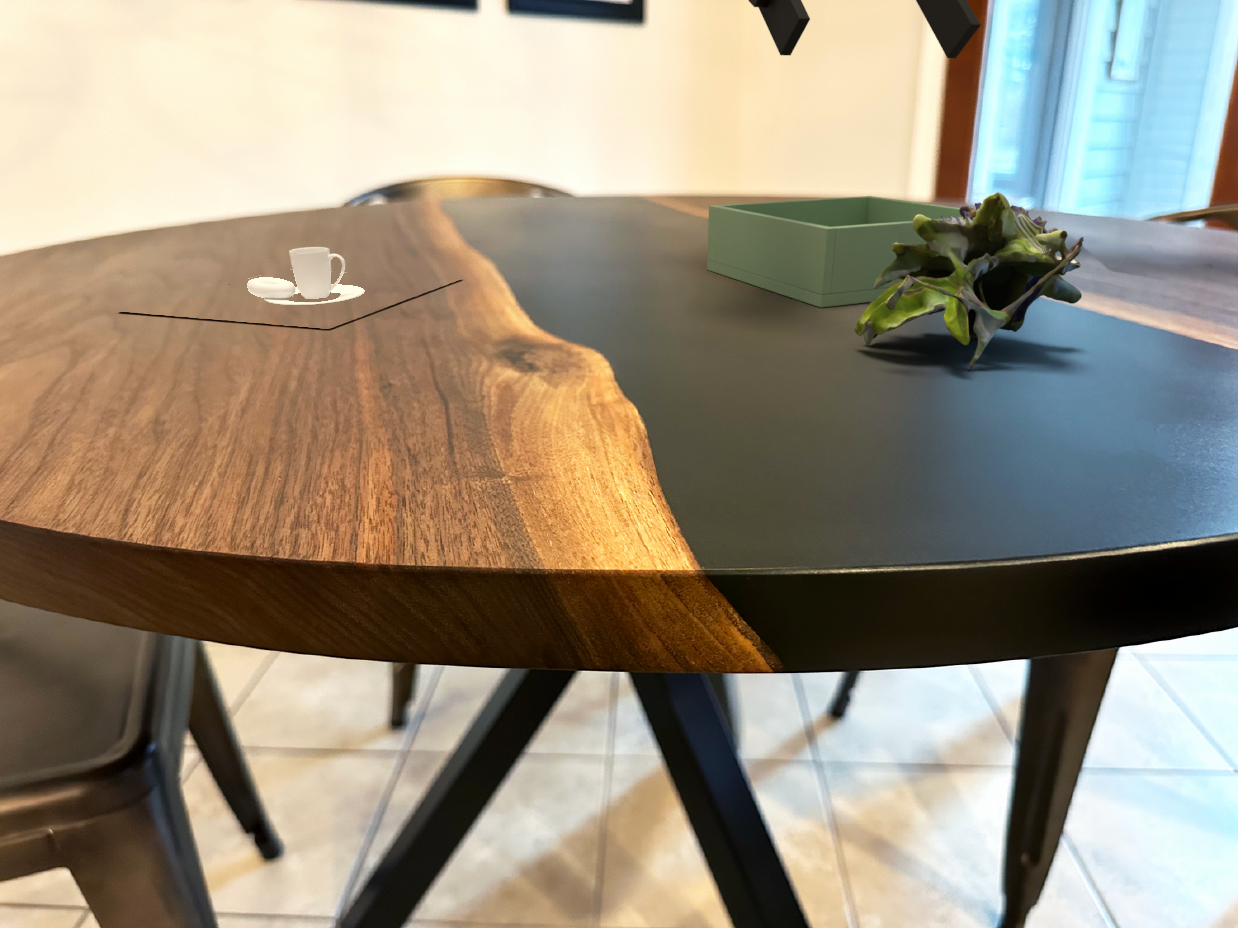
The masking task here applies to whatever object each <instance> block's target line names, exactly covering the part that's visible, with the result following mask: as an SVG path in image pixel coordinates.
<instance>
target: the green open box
mask: <svg viewBox="0 0 1238 928" xmlns="http://www.w3.org/2000/svg"><path fill="white" fill-rule="evenodd" d="M960 208H961V207H957V206H949V205H943V204H942V205H941V204H933V203H926V202H920V201H919V202H918V201H910V200H903V199H897V198H896V199H895V198H889V197H880V196H873V195H865V196H862V195H861V196H847V197H830V198H813V199H811V198H810V199H797V200H796V199H795V200H783V201H782V200H777V201H761V202H760V201H759V202H745V203H729V204H728V203H727V204H711V205H708V224H707V228H708V229H707V260H706V261H707V262H706V264H707V265H706V270H707V271H710V272H713V273H716V274H717V275H718V274H719V275H721V276H725V277H728V278H731V279H733V280H737V281H739V282H743V283H745V284H749V285H751V286H755V287H757V288H761V289H763V290H767V291H770V292H773V293H776V294H779V295H780V296H781V295H782V296H783V297H787V298H791V299H793V300H797V301H799V302H802V303H805V304H808V305H811V306H814V307H817V308H821V309H823V308H831V307H839V306H847V305H856V304H858V305H859V304H865V303H866V304H867V303H871V302H872V301H876V300H877V299H878V297H879V296H880V295H881V294H883V293H884V292H885V291H886V290H887V289H888V288H890V287H891V286H892V285H893V284H896V283H898V282H901V281H904V280H902V279H900V278H898V279H896V280H894V281H891V282H889V283H887V284H885V285H883V286H880V287H878V289H874V285H875V282H876V279H877V277H878V276H879V275H880V274H881V272H882V271H883V270H884V269H885V268H886V267H887V266H888V265H890V264H891V263H892V262H893V261H894V260H895V259H896V258H897V255H896V254H895V253H894V252H893V251H892V244H894V243H899V244H908V245H912V244H914V245H916V244H918V245H919V244H926V243H927V242H926V241H925V240H923V239H922V238H921V237H920V236H919V235H918V234H917V233H916V232H915V230H914V229H913V219H914V218H915V216H916V215H924V216H925V217H927V218H931V219H934V220H941V219H942V218H941V215H943V216H944V218H945V219H947V220H948V221H950V218H949V215H950V216H952V217H953V218H954V219H956V218H957V217H959V218H961V219H963V216H961V215H960V212H959V209H960Z"/></svg>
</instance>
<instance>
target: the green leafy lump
mask: <svg viewBox="0 0 1238 928" xmlns="http://www.w3.org/2000/svg"><path fill="white" fill-rule="evenodd" d="M959 208H960V209H959V212H960V215H961V216H963V219H961V218H959V217H957V218H956V219H954V218H953V217H952V216H950V215H949V218H950V221H948V220H947V219H945V218H944V216H943V215H941V218H942V219H941V220H934V219H931V218H927V217H925V216H924V215H916V216H915V218H914V219H913V229H914V230H915V232H916V233H917V234H918V235H919V236H920V237H921V238H922V239H923V240H925V241H926V242H927V243H926V244H919V245H918V244H916V245H914V244H912V245H908V244H899V243H894V244H892V251H893V252H894V253H895V254H896V255H897V258H896V259H895V260H894V261H893V262H892V263H891V264H890V265H888V266H887V267H886V268H885V269H884V270H883V271H882V272H881V274H880V275H879V276H878V277H877V279H876V282H875V285H874V289H878V287H880V286H883V285H885V284H887V283H889V282H891V281H894V280H896V279H898V278H900V279H902V280H904V281H901V282H898V283H896V284H893V285H892V286H891V287H890V288H888V289H887V290H886V291H885V292H884V293H883V294H881V295H880V296H879V297H878V299H877V300H876V301H872V302H870V304H869V305H868V306H867V308H866V309H865V310H864V312H863V313H862V314H861V316H860V317H859V318H858V319H857V322H856V323H855V326H854V332H855V334H856V335H857V336H858V337H861V336H863V340H864V343H865V344H866V345H867V346H869V345H871V343H872V341H873V340H875V339H876V338H877V337H878V336H882V335H883V334H885V333H889V332H890V331H893V330H896V329H898V328H900V327H902V326H903V325H906V324H907V323H910V322H911V321H914V320H916V319H917V318H920V317H924V316H926V315H928V316H929V315H930V316H931V315H933V314H937V313H940V312H943V311H944V314H943V321H944V322H945V328H946V329H947V330H948V332H949V333H950V334H951V336H952V337H953V338H954V339H956V340H957V341H958V342H959V343H960V344H961V345H964V346H969V344H970V341H971V339H977V345H976V347H975V348H976V349H975V351H974V354H973V356H972V359H971V360H970V361H969V363H968V365H967V366H966V368H965V370H967V371H971V370H972V368H973V366H974V365H975V364H976V362H977V361H978V359H979V358H980V357H981V356H982V354H983V352H984V350H985V349H986V347H987V345H988V344H989V343H990V341H991V340H992V339H993V337H994V336H995V335H996V333H997V331H998V330H1003V331H1008V332H1009V331H1012V332H1014V333H1017V332H1018V331H1019V330H1020V329H1021V328H1022V327H1023V325H1024V323H1025V318H1026V314H1027V311H1028V309H1029V307H1030V306H1032V304H1033V303H1034V302H1035V301H1036V300H1038V299H1039V298H1040V297H1042V296H1044V297H1046V298H1049V299H1052V300H1055V301H1060V302H1065V303H1068V304H1077V303H1078V302H1079V301H1080V300H1081V299H1082V295H1083V294H1082V292H1081V291H1080V290H1079V289H1078V288H1077V287H1075V286H1074V285H1073V284H1071V283H1069V281H1067V280H1065V279H1064V278H1063V277H1062V276H1065V275H1066V273H1068V272H1072V271H1074V270H1076V269H1080V268H1081V265H1082V264H1081V263H1080V262H1079V261H1078V260H1076V258H1077V257H1078V256H1079V255H1080V252H1081V251H1082V250H1083V247H1084V245H1083V242H1084V241H1085V239H1084V236H1081V237H1080V238H1078V239H1077V240H1076V241H1075V243H1074V244H1073V245H1072V246H1070V248H1069V249H1068V248H1067V247H1066V240H1067V238H1068V231H1067V230H1064V229H1058V228H1056V227H1053V228H1051V229H1049V230H1047V229H1046V224H1047V223H1048V220H1047V219H1046V220H1043V219H1042V217H1041V216H1040V215H1039V216H1037V217H1036V218H1034V219H1032V218H1031V217H1030V214H1029V213H1030V212H1029V210H1025V207H1023V206H1017V205H1010V202H1009V200H1008V199H1007V197H1006V196H1005V195H1004V194H1003V193H1001V192H999V191H997V192H995V193H994V194H990V195H988V196H986V197H984V199H983V200H982V202H975V203H974V207H970V206H969V205H961V206H960V207H959ZM1058 252H1059V254H1060V255H1056V253H1058Z"/></svg>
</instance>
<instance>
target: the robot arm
mask: <svg viewBox="0 0 1238 928" xmlns="http://www.w3.org/2000/svg"><path fill="white" fill-rule="evenodd" d="M748 2H749V3H750V4H751V5H752V7H753V8H758V11H759V12H760V14H761V17H762V18H763V21H764V22H765V25H766V27H767V29H768V31H769V33H770V36H771V38H772V41H773V43H774V45H775V47H776V49H777V51H778V53H779V55H780V56H792V54H793V52H794V50H795V48H796V46H797V45H798V42H799V40H800V39H801V37H802V35H803V33H804V31H805V30H806V28H807V26H808V24H809V22H810V20H811V18H810V16H809V13H808V11H807V9H806V7H805V5H804V3H803V1H802V0H748ZM915 2H916V4H917V5H918V7H919V9H920V11H921V12H922V14H923V16H924V18H925V20H926V22H927V23H928V25H929V27H930V29H931V31H932V33H933V35H934V36H935V38H936V40H937V43H938V44H939V46H940V47H941V49H942V51H943V53H944V55H945V57H946V58H947V59H956V58H957V57H958V56H959V55H960V53H961V52H962V51H963V50H964V48H965V47H966V46H967V44H968V43H969V42H970V40H971V39H972V37H973V36H974V35H975V34H976V32H977V31H978V30H979V28H980V27H981V25H982V24H981V23H980V21H979V19H978V17H977V16H976V14H975V12H974V11H973V9H972V7H971V5H970V3H969V2H968V0H915Z"/></svg>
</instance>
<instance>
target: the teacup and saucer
mask: <svg viewBox="0 0 1238 928" xmlns="http://www.w3.org/2000/svg"><path fill="white" fill-rule="evenodd" d="M330 252H331V251H330V248H329V247H326V246H325V247H323V246H307V247H306V246H305V247H298V248H293V249H290V250H288V255H289V259H290V264H291V270H293V273H294V277H295V281H296V284H297V287H295V286H294V284H293V283H292V282H290V281H287V280H284V279H280V278H273V277H259V278H254V279H251V280H249V281H248V283H247V288H248V291H249V292H250V293H251V294H253V295H255V296H257V297H261V298H264V300H265V301H267V302H269V303H273V304H280V305H316V304H326V303H334V302H340V301H345V300H349V299H353V298H356V297H359V296H361V295H362V294H364V292H365V290H364V289H363V288H361V287H358V286H353V285H342V284H338V283H339V282H340V280H341V278H342V276H343V274H344V273H345V270H346V261H345V258H344V257H343V256H341V255H340V254H338V253H330ZM334 258H337V259H339V260H340V262H341V271H340V272H341V273H340V276H339V278H338V279H337V281H336V282H335V283H334V284H331V272H332V263H331V262H332V261H331V260H333V259H334ZM330 292H331V293H340V294H341V295H340V296H339V297H338V298H336V299H333V300H328V301H321V302H294V301H289V300H287V299H286V298H290V297H291V296H292V297H293V295H294V294H298V293H301V295H302V296H303V297H304V298H305V299H319V298H327V297H328V296H329V294H330Z"/></svg>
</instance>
